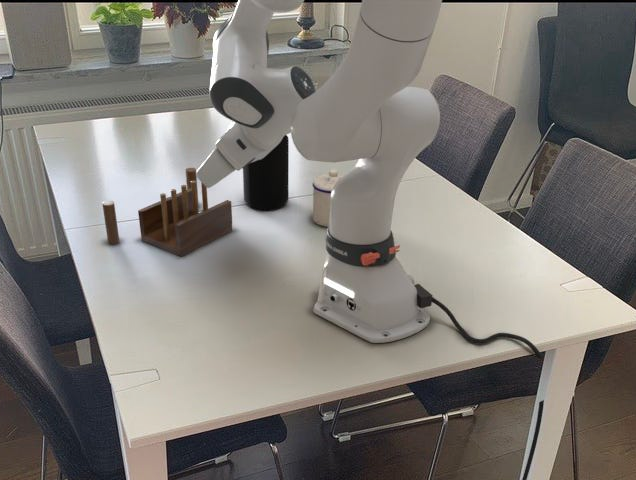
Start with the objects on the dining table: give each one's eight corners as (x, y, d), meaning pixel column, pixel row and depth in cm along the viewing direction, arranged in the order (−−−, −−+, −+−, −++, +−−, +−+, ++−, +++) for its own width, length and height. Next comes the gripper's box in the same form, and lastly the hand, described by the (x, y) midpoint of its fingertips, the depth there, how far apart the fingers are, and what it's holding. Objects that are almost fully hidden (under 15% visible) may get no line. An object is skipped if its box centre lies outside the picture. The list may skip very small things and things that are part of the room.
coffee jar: (297, 202, 181) (298, 127, 171) (266, 215, 175) (264, 138, 165) (266, 190, 187) (265, 117, 177) (234, 202, 181) (231, 127, 170)
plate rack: (232, 230, 168) (230, 181, 162) (181, 256, 158) (176, 204, 151) (193, 216, 174) (189, 168, 167) (141, 240, 164) (135, 190, 157)
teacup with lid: (355, 226, 171) (358, 177, 164) (316, 229, 169) (317, 179, 163) (343, 205, 180) (345, 157, 174) (305, 208, 179) (306, 160, 172)
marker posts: (200, 206, 179) (198, 169, 174) (113, 245, 161) (107, 206, 156) (193, 203, 180) (190, 166, 175) (105, 242, 162) (99, 203, 157)
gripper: (267, 100, 148) (228, 140, 158) (214, 143, 135) (175, 183, 144) (288, 126, 150) (248, 163, 159) (238, 171, 136) (198, 208, 146)
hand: (213, 173), depth 152 cm, fingers closed
